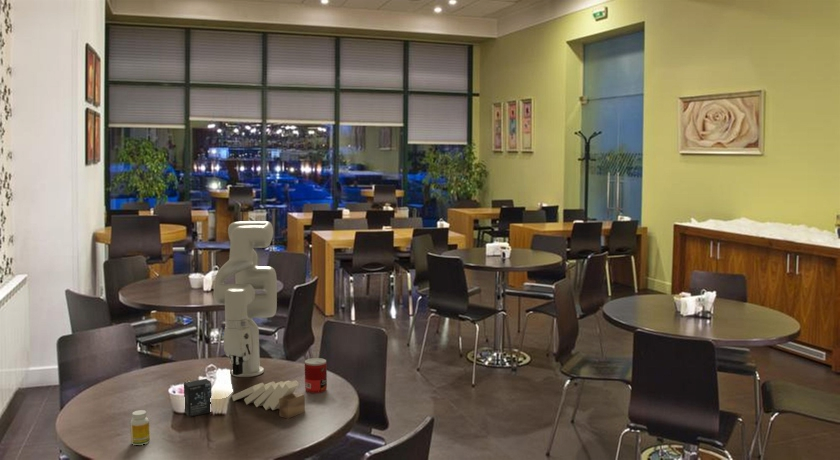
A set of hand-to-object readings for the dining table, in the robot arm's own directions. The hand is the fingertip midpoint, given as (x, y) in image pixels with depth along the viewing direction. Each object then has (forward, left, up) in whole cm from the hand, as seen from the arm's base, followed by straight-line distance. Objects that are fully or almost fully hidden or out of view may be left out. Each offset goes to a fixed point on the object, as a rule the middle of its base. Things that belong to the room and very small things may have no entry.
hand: (237, 374), depth 270 cm
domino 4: (+16, 0, -8) cm, 18 cm away
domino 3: (+11, 0, -8) cm, 14 cm away
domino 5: (+19, 0, -8) cm, 20 cm away
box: (-1, -17, -9) cm, 19 cm away
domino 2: (+6, 0, -8) cm, 10 cm away
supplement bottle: (+5, -44, -9) cm, 45 cm away
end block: (+26, 0, -9) cm, 28 cm away
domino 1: (0, 0, -8) cm, 8 cm away
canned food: (+16, +23, -9) cm, 30 cm away
